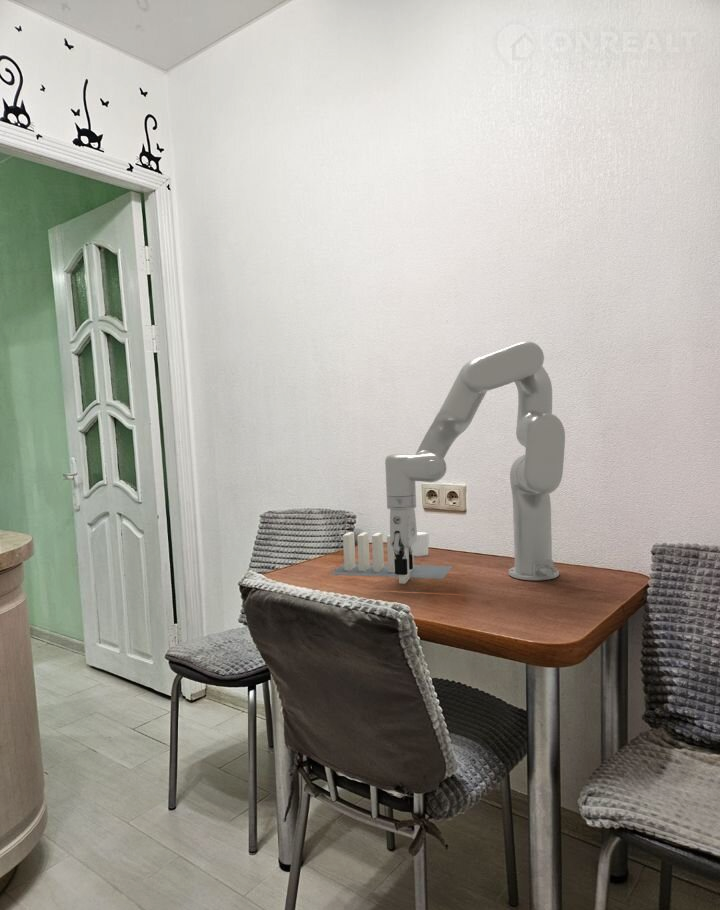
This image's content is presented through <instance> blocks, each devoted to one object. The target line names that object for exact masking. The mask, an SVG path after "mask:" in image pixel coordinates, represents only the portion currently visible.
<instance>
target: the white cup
mask: <svg viewBox="0 0 720 910" xmlns="http://www.w3.org/2000/svg"><path fill="white" fill-rule="evenodd" d="M429 540H430V533H429V532H428V531H419V530H417V541H416V543H414V544H413V556H414V557H425V556H428V555H429V546H430V545H429Z"/></svg>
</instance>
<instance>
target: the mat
mask: <svg viewBox="0 0 720 910" xmlns="http://www.w3.org/2000/svg"><path fill="white" fill-rule="evenodd" d="M355 563H356V567H354V568H353V569H352V570H350V571H344V563H342V564H341V565H340V566H338V567H336V568H335V569H334V570H332V571H331V572H329V573H328V575H334V576H335V575H338V576H362V577H363V576H364V577H383V578H384V577H386V578H387V577H388V578H399V575H396V574H395V572H388V563H384V568H383V569H382V570H381V571H379V572H373V562H371V563H370V567H369V568H368V569H367V570H365V571H359V562H355ZM453 567H454V566H453V565H432V564H431V565H427V564H426V565H425V564H424V565H423V564H414V569H413V570H412V571H411V572H410V579H411V578H414V579H434V580H438V579H439V580H444V579H445V577H446V576H447V575H448V573H449V572H450V570H452V568H453Z"/></svg>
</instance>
